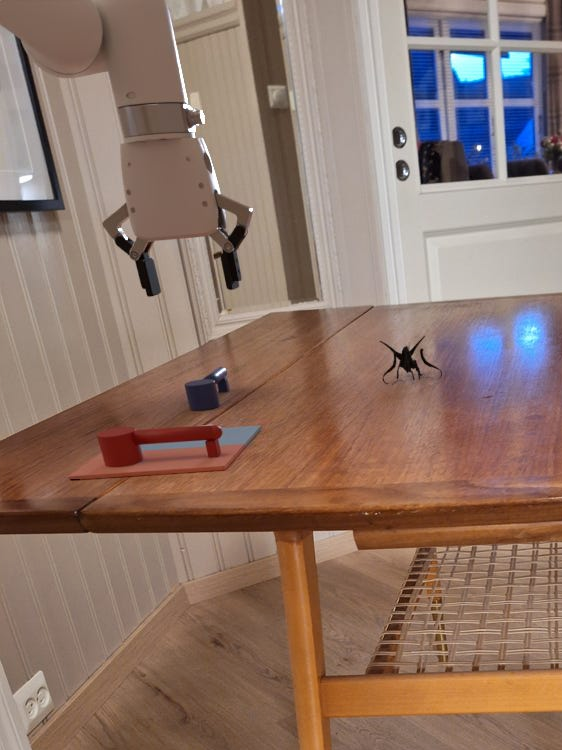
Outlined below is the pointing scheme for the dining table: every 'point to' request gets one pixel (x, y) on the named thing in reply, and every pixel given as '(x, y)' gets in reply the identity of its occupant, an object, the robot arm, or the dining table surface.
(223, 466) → the mat
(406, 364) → the creature
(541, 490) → the dining table surface
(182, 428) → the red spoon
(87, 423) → the dining table surface
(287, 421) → the dining table surface
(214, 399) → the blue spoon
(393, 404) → the dining table surface
